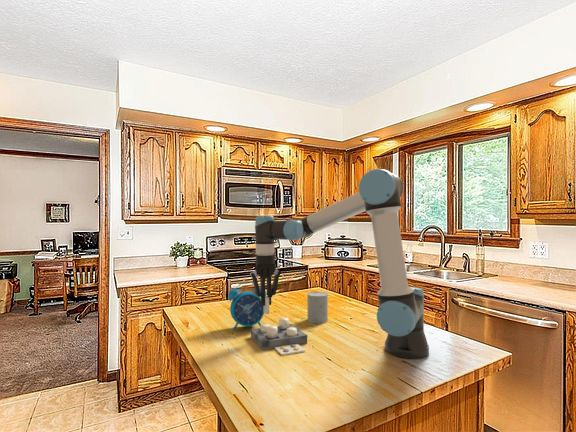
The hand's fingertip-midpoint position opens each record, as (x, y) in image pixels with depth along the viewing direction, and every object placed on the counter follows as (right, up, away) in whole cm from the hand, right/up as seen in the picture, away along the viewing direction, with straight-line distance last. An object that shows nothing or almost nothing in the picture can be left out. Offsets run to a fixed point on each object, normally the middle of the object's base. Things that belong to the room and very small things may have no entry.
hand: (266, 313), depth 140 cm
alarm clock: (-9, -10, +13) cm, 19 cm away
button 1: (0, -8, 0) cm, 8 cm away
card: (+9, -10, -13) cm, 18 cm away
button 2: (+3, -7, -7) cm, 10 cm away
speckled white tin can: (+22, -10, +24) cm, 34 cm away
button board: (+5, -10, -2) cm, 11 cm away
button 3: (+7, -7, +3) cm, 10 cm away
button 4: (+10, -8, -4) cm, 14 cm away
